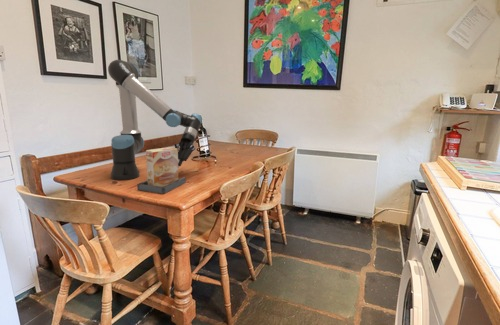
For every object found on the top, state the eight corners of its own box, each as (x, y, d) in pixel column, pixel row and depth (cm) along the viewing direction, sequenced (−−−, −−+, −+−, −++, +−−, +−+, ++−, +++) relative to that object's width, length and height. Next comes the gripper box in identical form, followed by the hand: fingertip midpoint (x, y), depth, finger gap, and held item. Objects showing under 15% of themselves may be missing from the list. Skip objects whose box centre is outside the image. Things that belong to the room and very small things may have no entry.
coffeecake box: (154, 189, 144) (152, 151, 139) (147, 186, 148) (145, 149, 144) (179, 183, 155) (178, 148, 150) (171, 180, 159) (170, 146, 155)
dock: (137, 190, 143) (137, 184, 142) (161, 179, 162) (161, 174, 161) (163, 194, 138) (163, 188, 138) (185, 182, 157) (185, 177, 156)
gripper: (201, 140, 170) (188, 175, 159) (181, 139, 174) (167, 172, 162) (196, 133, 164) (182, 168, 152) (176, 131, 168) (161, 165, 156)
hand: (175, 170), depth 157 cm, fingers closed
